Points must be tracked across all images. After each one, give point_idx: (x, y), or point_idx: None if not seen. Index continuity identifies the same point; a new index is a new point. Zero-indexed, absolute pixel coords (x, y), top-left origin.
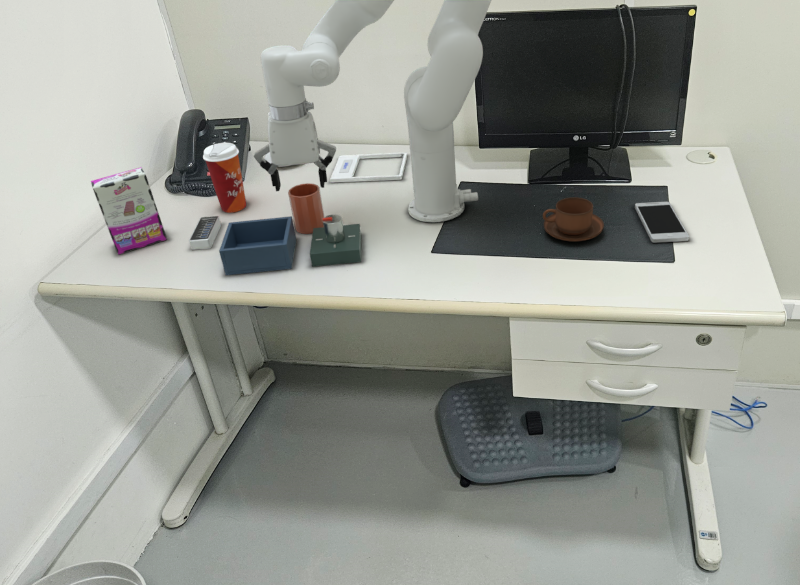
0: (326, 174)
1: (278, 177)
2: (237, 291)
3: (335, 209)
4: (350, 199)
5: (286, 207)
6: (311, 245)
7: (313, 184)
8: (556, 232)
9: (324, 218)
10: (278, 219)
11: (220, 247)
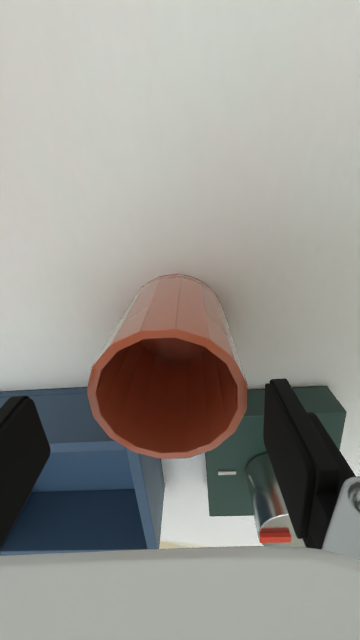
0: (327, 435)
1: (4, 472)
2: None
3: (251, 205)
4: (316, 112)
5: (51, 158)
6: (209, 488)
7: (210, 348)
8: None
9: (266, 541)
10: (94, 450)
11: None
